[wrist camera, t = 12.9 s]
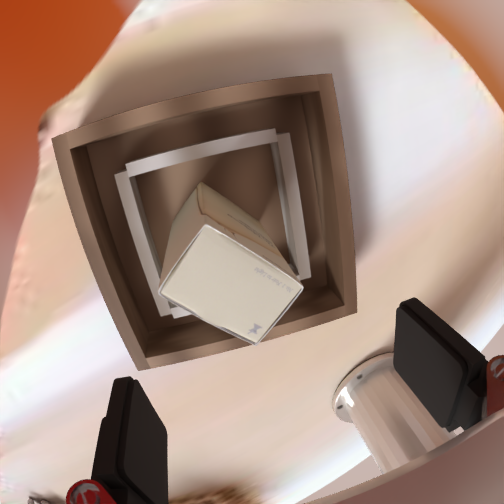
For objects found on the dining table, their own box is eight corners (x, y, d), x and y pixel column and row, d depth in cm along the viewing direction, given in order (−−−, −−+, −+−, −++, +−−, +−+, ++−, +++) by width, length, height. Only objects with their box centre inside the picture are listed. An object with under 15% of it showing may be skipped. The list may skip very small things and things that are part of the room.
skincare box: (260, 221, 27) (311, 287, 16) (229, 262, 28) (259, 349, 17) (198, 178, 25) (207, 218, 14) (167, 224, 26) (154, 295, 15)
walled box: (307, 81, 25) (331, 73, 20) (335, 287, 32) (357, 312, 28) (74, 136, 23) (51, 138, 18) (142, 338, 30) (138, 371, 26)
